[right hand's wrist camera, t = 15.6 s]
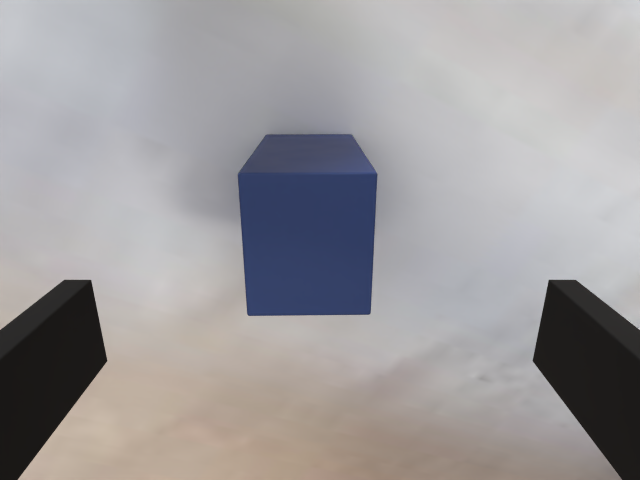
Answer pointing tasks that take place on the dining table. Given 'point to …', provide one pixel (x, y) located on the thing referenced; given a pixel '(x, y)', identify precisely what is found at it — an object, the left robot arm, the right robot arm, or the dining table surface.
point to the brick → (308, 226)
